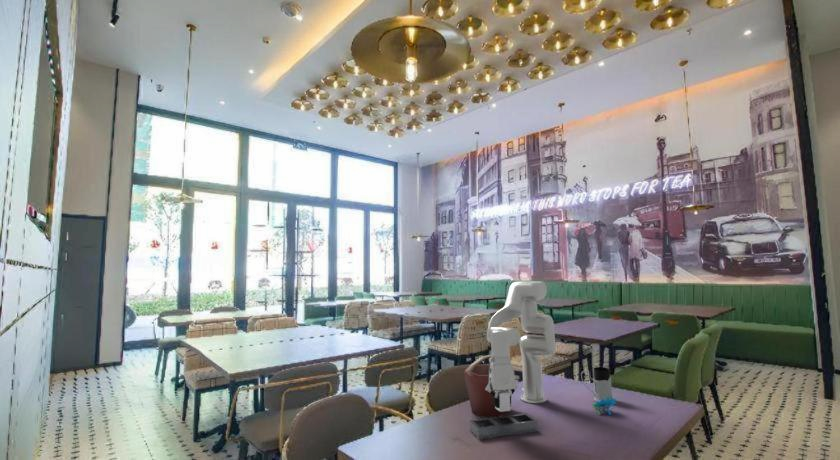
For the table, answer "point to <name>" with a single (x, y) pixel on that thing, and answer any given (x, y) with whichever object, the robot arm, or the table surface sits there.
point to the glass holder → (601, 383)
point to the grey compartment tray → (503, 425)
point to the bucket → (480, 389)
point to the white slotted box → (503, 401)
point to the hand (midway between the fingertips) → (502, 405)
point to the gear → (604, 405)
